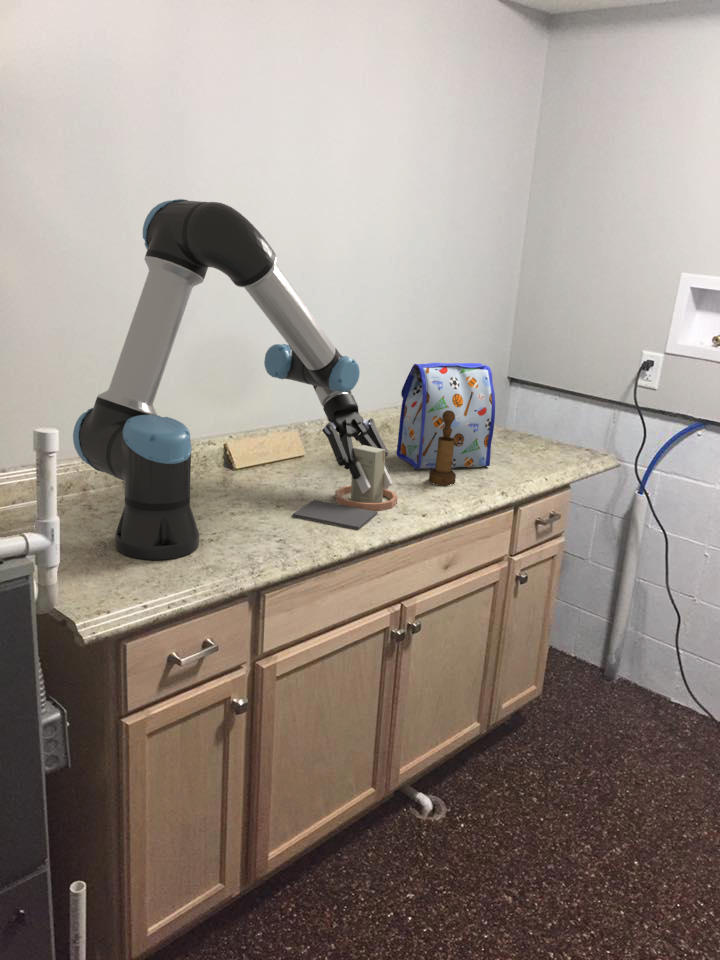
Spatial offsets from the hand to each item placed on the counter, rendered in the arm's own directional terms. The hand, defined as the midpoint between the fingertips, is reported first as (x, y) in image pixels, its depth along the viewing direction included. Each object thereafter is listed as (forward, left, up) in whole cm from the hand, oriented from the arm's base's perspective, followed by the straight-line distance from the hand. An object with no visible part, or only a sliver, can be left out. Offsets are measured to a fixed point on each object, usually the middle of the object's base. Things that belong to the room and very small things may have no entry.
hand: (377, 488), depth 186 cm
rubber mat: (-11, +5, -4) cm, 13 cm away
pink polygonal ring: (+2, +3, -4) cm, 5 cm away
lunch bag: (+44, -3, -4) cm, 44 cm away
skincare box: (+2, +3, -4) cm, 6 cm away
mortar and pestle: (+26, -8, -4) cm, 27 cm away
